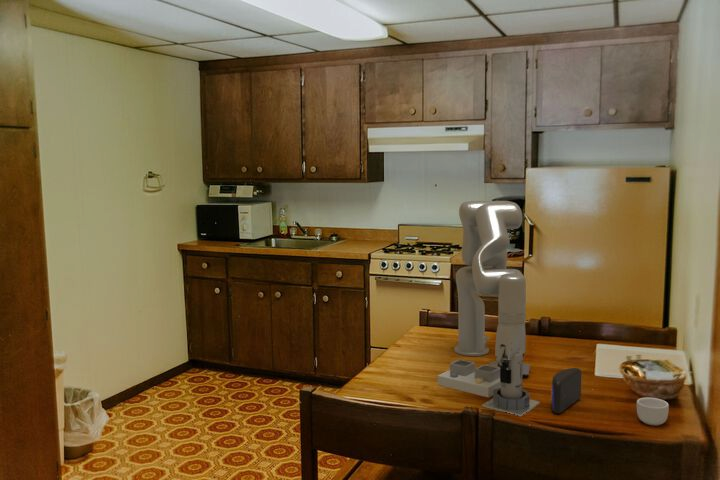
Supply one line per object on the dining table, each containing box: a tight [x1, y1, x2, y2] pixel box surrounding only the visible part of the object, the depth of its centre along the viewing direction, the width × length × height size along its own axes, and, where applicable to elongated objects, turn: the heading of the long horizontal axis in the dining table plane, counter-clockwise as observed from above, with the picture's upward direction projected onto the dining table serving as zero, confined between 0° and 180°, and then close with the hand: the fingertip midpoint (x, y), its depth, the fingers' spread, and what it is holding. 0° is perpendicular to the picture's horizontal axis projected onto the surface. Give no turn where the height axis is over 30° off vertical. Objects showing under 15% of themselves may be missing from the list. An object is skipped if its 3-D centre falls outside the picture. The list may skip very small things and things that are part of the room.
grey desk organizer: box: [437, 359, 501, 398], centre depth 198 cm, size 12×18×6 cm, turn 49°
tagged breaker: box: [479, 366, 496, 372], centre depth 196 cm, size 4×4×2 cm
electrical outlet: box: [488, 360, 531, 377], centre depth 210 cm, size 13×10×2 cm
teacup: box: [636, 397, 670, 426], centre depth 169 cm, size 10×8×5 cm
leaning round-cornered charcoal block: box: [550, 367, 582, 415], centre depth 181 cm, size 16×5×9 cm, turn 140°
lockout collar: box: [481, 388, 541, 417], centre depth 182 cm, size 12×12×4 cm
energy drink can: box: [501, 348, 524, 398], centre depth 181 cm, size 6×6×15 cm
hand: (511, 378), depth 181 cm, fingers closed on energy drink can, 6 cm apart
